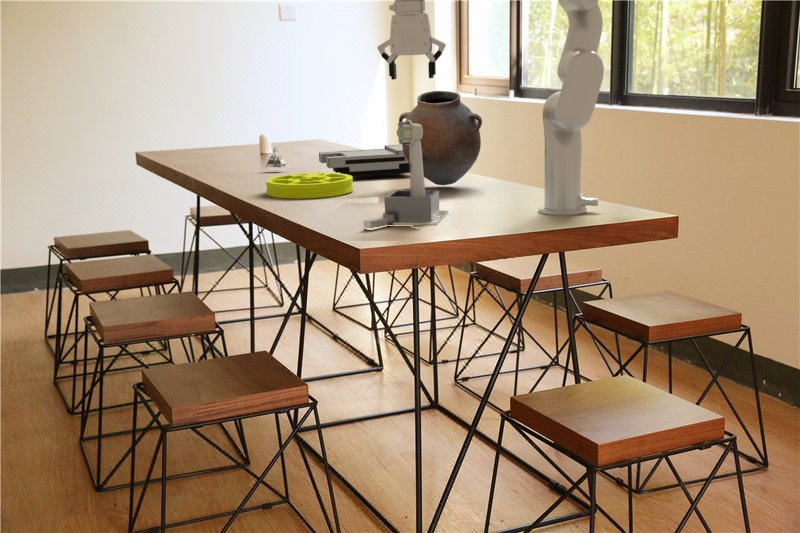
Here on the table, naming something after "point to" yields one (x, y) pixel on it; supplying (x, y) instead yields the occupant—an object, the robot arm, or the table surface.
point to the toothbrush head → (413, 155)
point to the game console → (367, 161)
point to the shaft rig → (409, 210)
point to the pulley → (309, 185)
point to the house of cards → (276, 160)
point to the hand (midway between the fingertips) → (412, 78)
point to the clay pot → (445, 136)
